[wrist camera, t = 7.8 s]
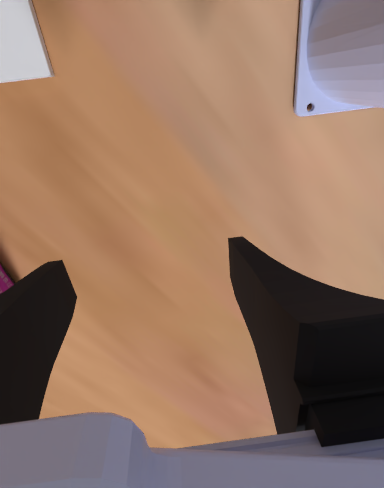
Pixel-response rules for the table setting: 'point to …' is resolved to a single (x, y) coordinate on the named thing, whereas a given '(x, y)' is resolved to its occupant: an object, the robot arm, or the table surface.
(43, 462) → the robot arm
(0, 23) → the pad
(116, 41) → the table surface
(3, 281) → the candy bar box
